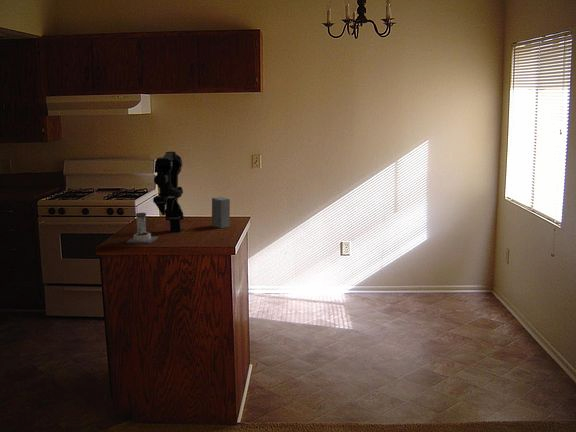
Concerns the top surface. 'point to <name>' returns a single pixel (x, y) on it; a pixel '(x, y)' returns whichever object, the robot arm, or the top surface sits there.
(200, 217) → the top surface
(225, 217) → the skincare box
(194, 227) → the top surface
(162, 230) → the top surface
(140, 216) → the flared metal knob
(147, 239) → the dock
